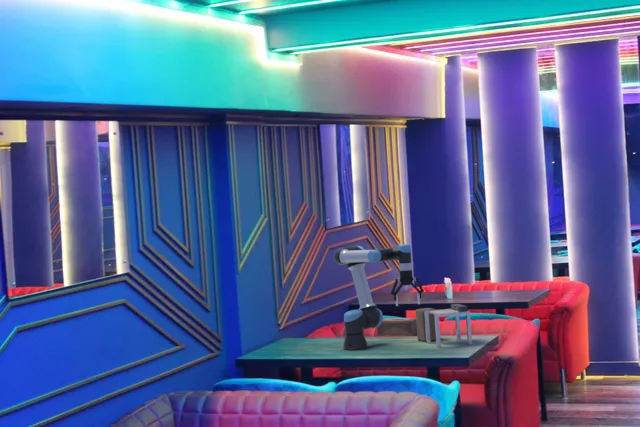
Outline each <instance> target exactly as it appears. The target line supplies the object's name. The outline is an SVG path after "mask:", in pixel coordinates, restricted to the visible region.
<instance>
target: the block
mask: <svg viewBox="0 0 640 427" xmlns="http://www.w3.org/2000/svg"><path fill="white" fill-rule="evenodd" d="M432 310H436V308H431V307H424V308H417V309H415V318H416V323H417V334H416V336H417V341H420V342H426V328H425V313H424V311H432ZM429 328H430V342H432V341H433V342H434V341H436V331H435V316H434V314H431V313H430V314H429Z"/></svg>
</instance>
